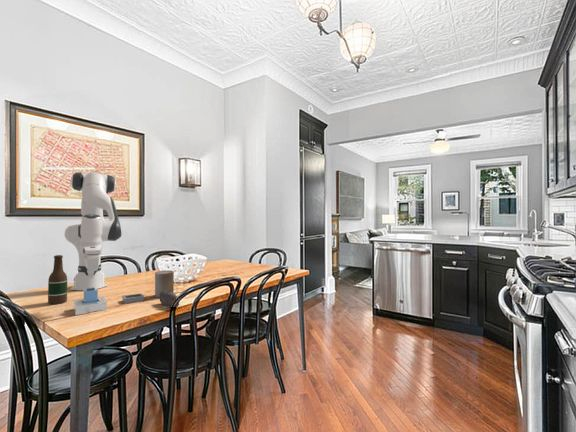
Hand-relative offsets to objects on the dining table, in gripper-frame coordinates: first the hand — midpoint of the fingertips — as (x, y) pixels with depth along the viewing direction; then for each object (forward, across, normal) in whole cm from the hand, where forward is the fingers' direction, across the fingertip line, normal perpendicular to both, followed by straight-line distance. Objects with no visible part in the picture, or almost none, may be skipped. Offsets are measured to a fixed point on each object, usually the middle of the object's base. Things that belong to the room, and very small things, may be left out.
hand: (90, 278), depth 144 cm
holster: (+15, -3, +19) cm, 24 cm away
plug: (+14, 0, 0) cm, 14 cm away
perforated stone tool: (+15, +16, +32) cm, 39 cm away
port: (+15, 0, 0) cm, 15 cm away
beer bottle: (+15, -23, -12) cm, 30 cm away
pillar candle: (+15, -5, +35) cm, 38 cm away
